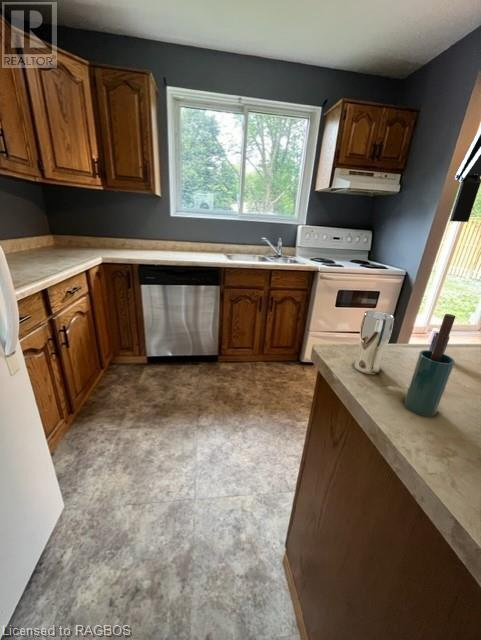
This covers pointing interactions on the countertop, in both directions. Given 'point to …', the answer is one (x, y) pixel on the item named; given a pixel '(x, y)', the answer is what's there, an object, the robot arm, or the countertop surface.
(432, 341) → the grey cylinder
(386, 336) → the beer glass
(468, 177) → the robot arm
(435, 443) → the countertop surface
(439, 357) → the brown stick
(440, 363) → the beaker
